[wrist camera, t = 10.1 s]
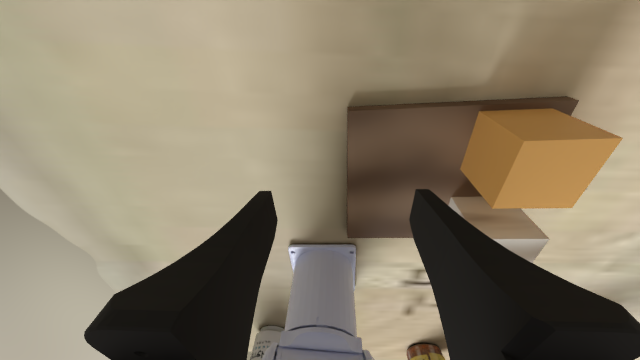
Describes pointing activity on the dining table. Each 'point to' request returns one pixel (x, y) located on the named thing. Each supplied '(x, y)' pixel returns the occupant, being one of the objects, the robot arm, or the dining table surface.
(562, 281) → the robot arm
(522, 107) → the board
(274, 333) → the energy drink can
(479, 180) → the kraft paper cube
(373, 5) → the dining table surface
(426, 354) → the sauce bottle
